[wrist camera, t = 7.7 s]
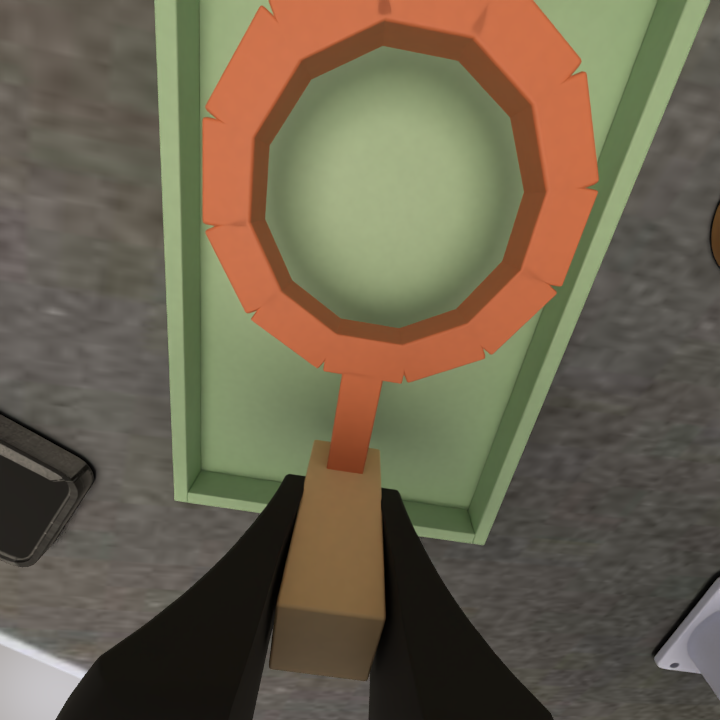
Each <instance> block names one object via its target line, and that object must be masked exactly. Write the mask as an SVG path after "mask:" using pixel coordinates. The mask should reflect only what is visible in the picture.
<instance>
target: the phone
mask: <svg viewBox="0 0 720 720" xmlns="http://www.w3.org/2000/svg"><path fill="white" fill-rule="evenodd" d="M93 480H94V478H93V472H92V470H91V468H90V467H89V466H88V465H87V464H86V462H84V461H83V460H81V459H80V458H79V457H77V456H75V455H73V454H71V453H69V452H68V451H66V450H64V449H62V448H60V447H59V446H57V445H55V444H53V443H51V442H50V441H48V440H46V439H44V438H42V437H40V436H39V435H37V434H35V433H33V432H31V431H30V430H28V429H26V428H24V427H22V426H20V425H19V424H17V423H15V422H13V421H11V420H10V419H8V418H6V417H4V416H2V415H0V560H1V561H3V562H5V563H8V564H10V565H13V566H18V567H29V566H31V565H34V564H35V563H36V562H37V561H38V560H39V558H40V557H41V556H42V555H43V554H44V553H45V552H46V551H47V550H48V549H49V548H50V547H51V545H52V544H53V543H54V541H55V540H56V538H57V537H58V535H59V534H60V532H61V531H62V529H63V528H64V526H65V525H66V523H67V522H68V520H69V518H70V517H71V515H72V514H73V512H74V511H75V509H76V508H77V506H78V505H79V503H80V502H81V500H82V499H83V497H84V496H85V494H86V493H87V491H88V489H89V488H90V486H91V485H92V483H93Z"/></svg>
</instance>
